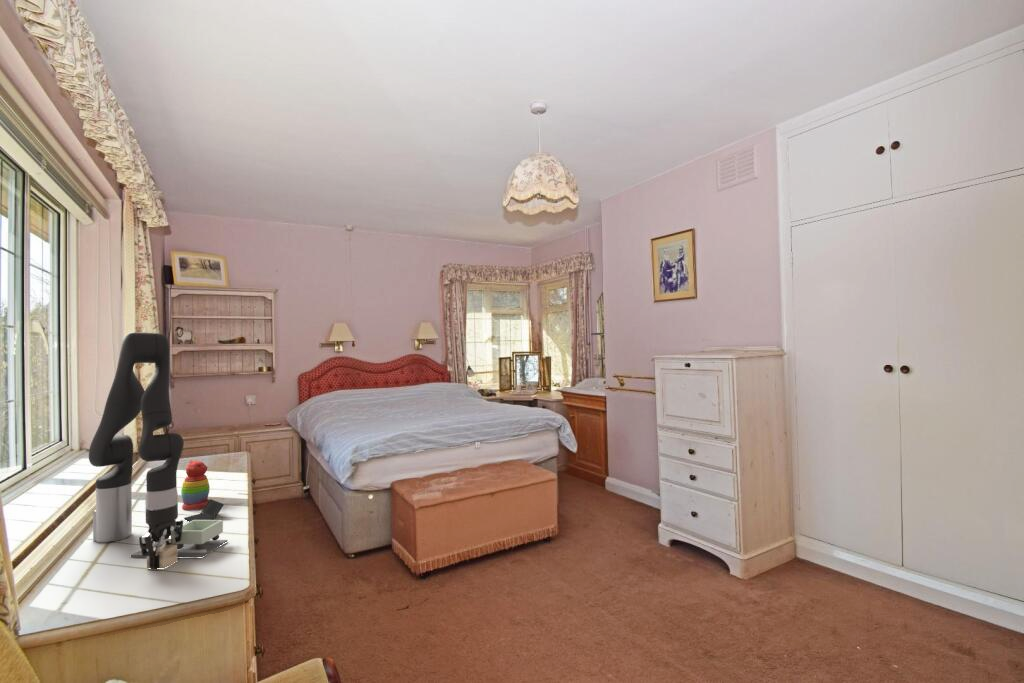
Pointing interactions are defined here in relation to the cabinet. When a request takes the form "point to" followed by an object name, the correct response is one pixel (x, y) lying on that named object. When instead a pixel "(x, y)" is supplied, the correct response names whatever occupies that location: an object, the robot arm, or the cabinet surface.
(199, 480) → the stacking bear
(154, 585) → the cabinet surface
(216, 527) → the mint green tray
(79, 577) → the cabinet surface
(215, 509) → the dark piece
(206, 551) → the track
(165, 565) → the block
